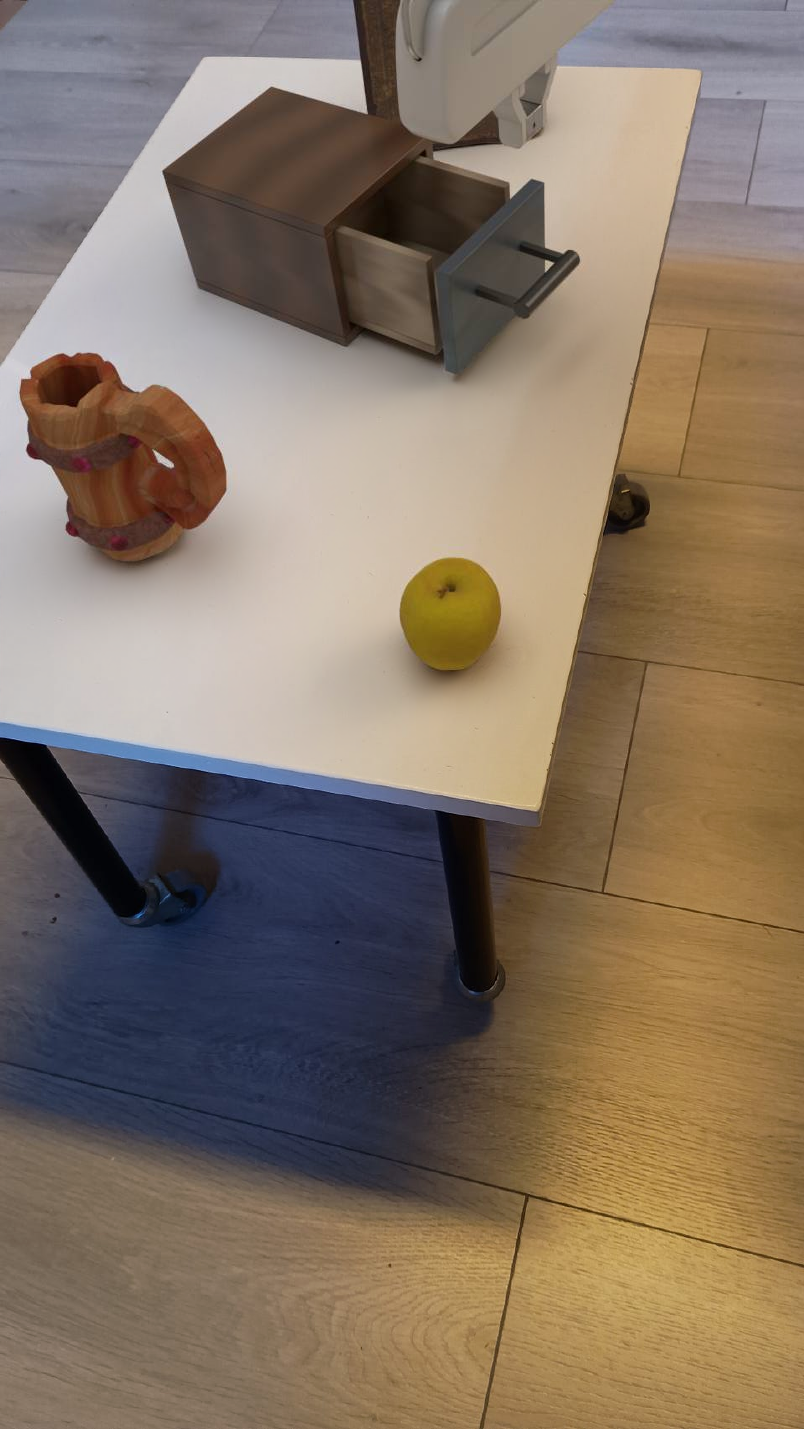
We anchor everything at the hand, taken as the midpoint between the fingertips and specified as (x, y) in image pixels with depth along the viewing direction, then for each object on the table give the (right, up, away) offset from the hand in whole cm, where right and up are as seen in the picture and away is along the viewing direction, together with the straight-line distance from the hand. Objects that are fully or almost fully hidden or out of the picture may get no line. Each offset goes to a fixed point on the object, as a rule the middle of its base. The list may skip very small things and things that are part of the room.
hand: (523, 135), depth 72 cm
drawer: (-4, -5, +18) cm, 19 cm away
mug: (-25, -25, +9) cm, 37 cm away
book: (-2, +18, +34) cm, 38 cm away
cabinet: (-15, +1, +25) cm, 29 cm away
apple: (-4, -34, +1) cm, 34 cm away
